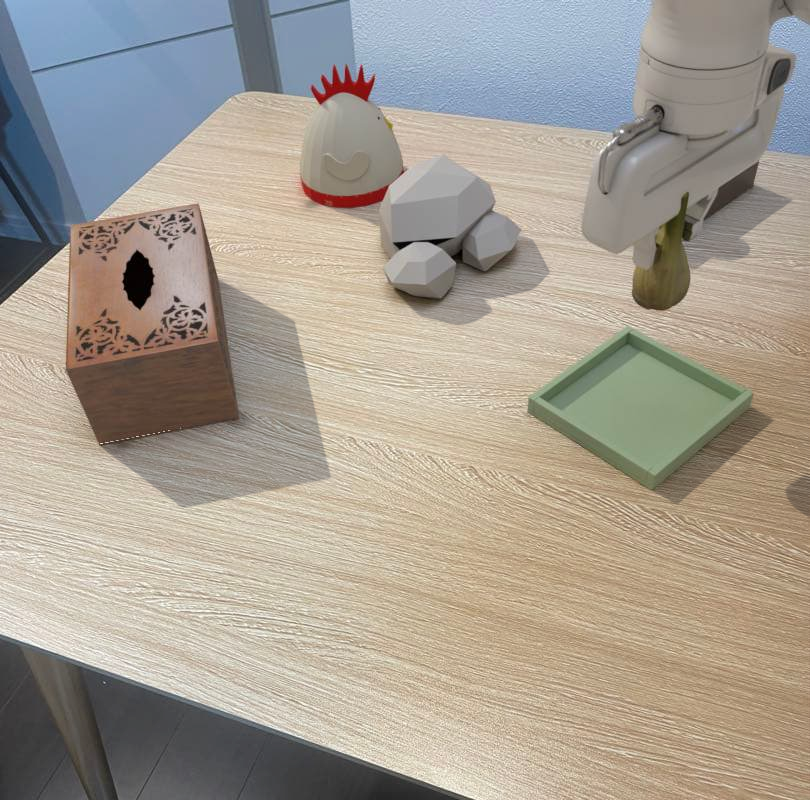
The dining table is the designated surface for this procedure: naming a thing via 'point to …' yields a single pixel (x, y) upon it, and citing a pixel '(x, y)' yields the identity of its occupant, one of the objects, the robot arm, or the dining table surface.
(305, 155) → the kitchen timer
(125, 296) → the tissue box cover
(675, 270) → the fennel bulb
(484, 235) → the rock
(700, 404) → the tray
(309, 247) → the dining table surface
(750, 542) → the dining table surface
